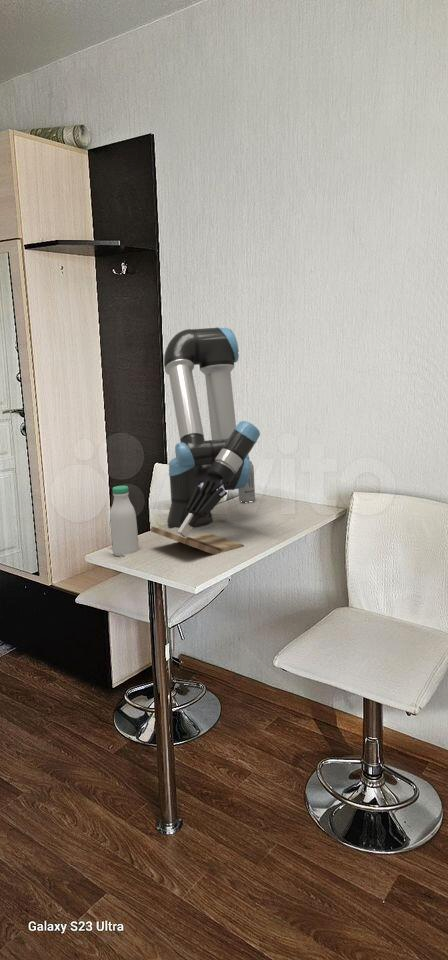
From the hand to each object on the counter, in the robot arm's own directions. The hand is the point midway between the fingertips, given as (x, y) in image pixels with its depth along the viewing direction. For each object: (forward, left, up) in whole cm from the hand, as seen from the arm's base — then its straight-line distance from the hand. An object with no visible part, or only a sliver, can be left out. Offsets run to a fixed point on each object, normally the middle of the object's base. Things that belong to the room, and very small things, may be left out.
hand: (181, 534), depth 199 cm
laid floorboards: (-1, +12, -6) cm, 13 cm away
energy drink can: (-38, +53, -6) cm, 66 cm away
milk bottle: (-15, -11, -7) cm, 19 cm away
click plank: (-1, +6, -5) cm, 8 cm away
